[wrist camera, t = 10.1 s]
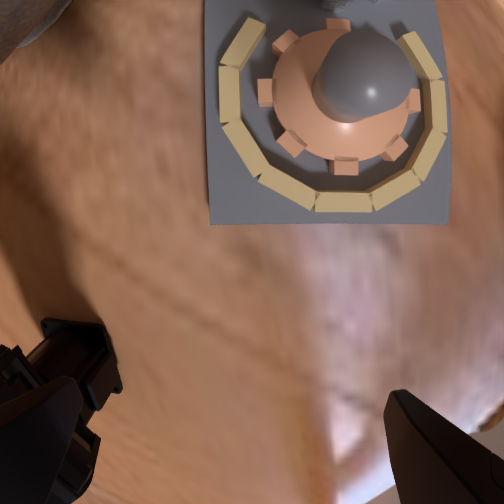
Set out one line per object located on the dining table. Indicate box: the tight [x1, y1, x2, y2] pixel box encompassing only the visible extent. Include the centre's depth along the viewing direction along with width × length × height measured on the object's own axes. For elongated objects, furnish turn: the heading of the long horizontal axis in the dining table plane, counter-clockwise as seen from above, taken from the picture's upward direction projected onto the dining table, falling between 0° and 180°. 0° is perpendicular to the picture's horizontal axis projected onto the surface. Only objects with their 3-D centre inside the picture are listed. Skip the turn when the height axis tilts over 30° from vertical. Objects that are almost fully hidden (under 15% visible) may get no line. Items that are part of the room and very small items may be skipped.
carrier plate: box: [205, 0, 452, 225], centre depth 14 cm, size 14×21×2 cm, turn 2°
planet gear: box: [257, 18, 421, 175], centre depth 12 cm, size 8×8×6 cm
